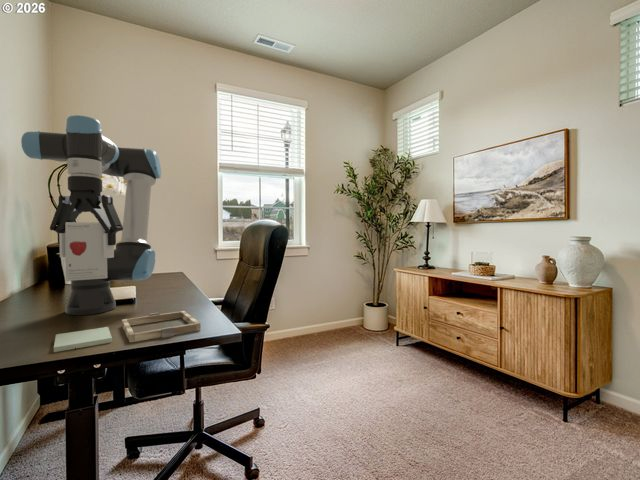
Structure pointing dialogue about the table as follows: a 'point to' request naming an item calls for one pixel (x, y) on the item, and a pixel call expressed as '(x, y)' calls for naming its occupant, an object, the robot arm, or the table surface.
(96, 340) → the coaster pad
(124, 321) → the birch collar
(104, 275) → the supplement box
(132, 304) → the table surface
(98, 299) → the robot arm
